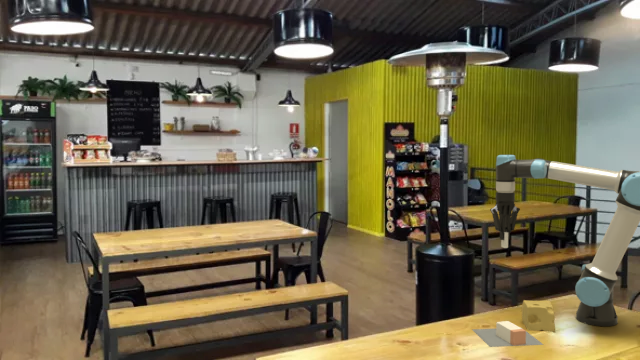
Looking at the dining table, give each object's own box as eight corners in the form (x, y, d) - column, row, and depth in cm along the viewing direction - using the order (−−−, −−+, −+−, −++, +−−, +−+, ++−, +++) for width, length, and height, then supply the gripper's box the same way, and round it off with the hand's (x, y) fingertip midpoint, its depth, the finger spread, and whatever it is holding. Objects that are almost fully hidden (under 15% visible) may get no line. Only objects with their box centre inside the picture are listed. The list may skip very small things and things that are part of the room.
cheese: (555, 333, 205) (555, 308, 204) (525, 331, 207) (526, 306, 206) (549, 324, 215) (549, 300, 214) (521, 323, 217) (521, 299, 217)
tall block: (508, 320, 203) (525, 330, 193) (507, 333, 204) (525, 344, 193) (496, 322, 202) (513, 331, 191) (496, 335, 202) (513, 345, 192)
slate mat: (521, 329, 210) (521, 327, 210) (543, 346, 192) (543, 344, 192) (471, 330, 209) (471, 329, 209) (489, 348, 191) (489, 346, 191)
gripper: (513, 190, 228) (512, 244, 230) (486, 191, 225) (485, 246, 227) (524, 191, 221) (523, 248, 223) (496, 193, 218) (495, 250, 219)
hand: (504, 247), depth 225 cm, fingers closed
